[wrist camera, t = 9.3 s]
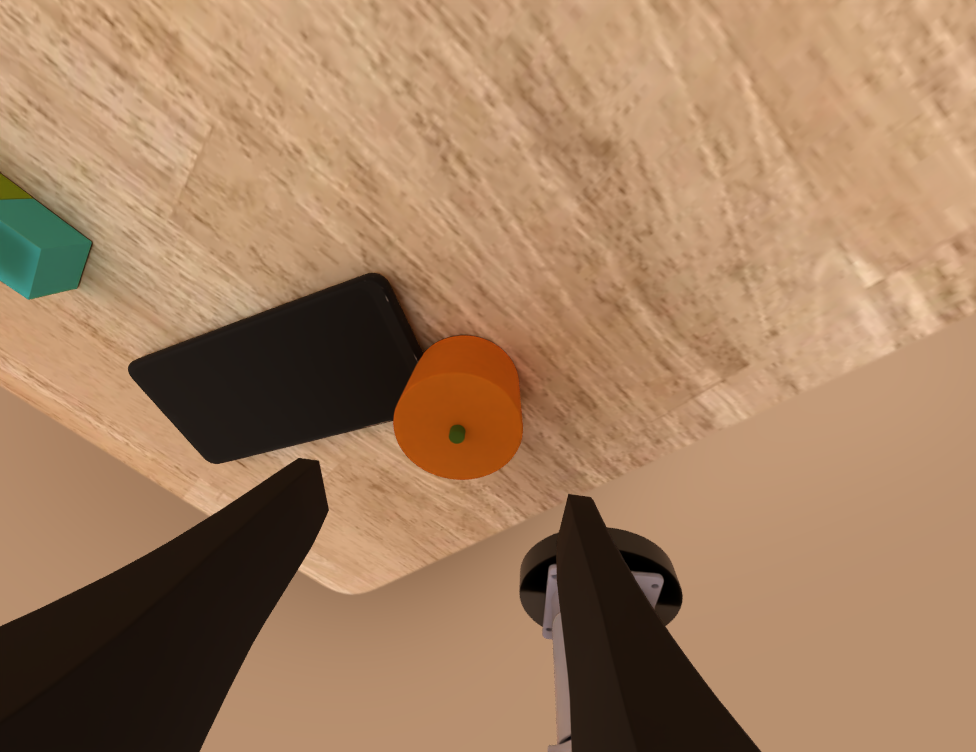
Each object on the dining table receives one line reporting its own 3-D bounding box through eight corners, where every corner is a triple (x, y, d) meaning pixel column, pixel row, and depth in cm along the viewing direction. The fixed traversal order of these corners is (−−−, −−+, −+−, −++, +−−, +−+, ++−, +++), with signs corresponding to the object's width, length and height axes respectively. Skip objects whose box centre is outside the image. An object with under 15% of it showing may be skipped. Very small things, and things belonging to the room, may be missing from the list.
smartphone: (444, 410, 17) (210, 468, 21) (448, 400, 18) (220, 458, 22) (377, 270, 14) (118, 366, 18) (385, 265, 15) (134, 359, 19)
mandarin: (517, 427, 18) (521, 489, 15) (419, 427, 18) (398, 487, 15) (520, 334, 16) (526, 378, 12) (408, 334, 16) (380, 378, 12)
